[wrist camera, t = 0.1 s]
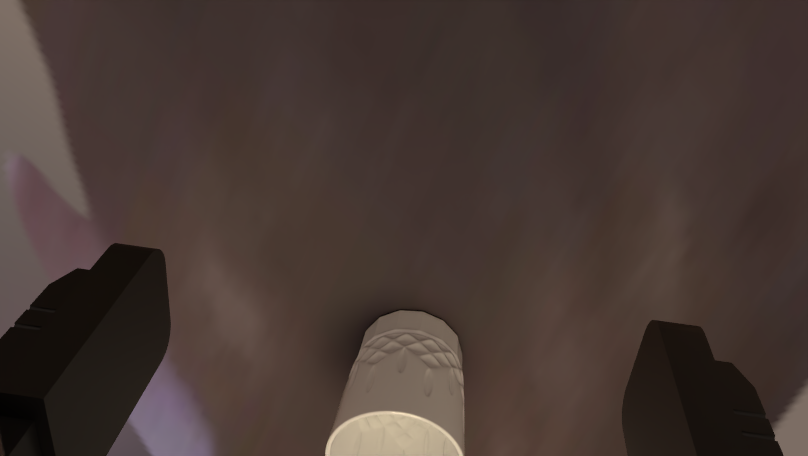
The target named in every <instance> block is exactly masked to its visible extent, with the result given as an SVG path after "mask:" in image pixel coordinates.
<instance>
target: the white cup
mask: <svg viewBox="0 0 808 456" xmlns="http://www.w3.org/2000/svg"><path fill="white" fill-rule="evenodd" d="M325 456H465V406H464V381H463V372H462V351H461V347H460V344H459V340H458V336H457V335H456V334H455V333H454V331H453V330H452V329H451V328H450V327H449V326H448V325H447V324H446V323H445V322H444V321H443V320H441V319H439V318H436V317H434V316H432V315H430V314H427V313H425V312H422V311H405V310H399V311H396V312H393V313H390V314H387V315H384V316H381V317H379V318H378V319H377V320H376V321H375V322H374V323H373V324H372V325H371V326H370V327H369V328H368V329H367V330H366V332H365V335H364V338H363V341H362V345H361V348H360V351H359V354H358V357H357V358H356V360H355V362H354V363H353V367H352V369H351V372H350V375H349V378H348V381H347V384H346V386H345V389H344V392H343V395H342V398H341V401H340V405H339V408H338V411H337V414H336V417H335V420H334V424H333V427H332V430H331V433H330V436H329V439H328V442H327V446H326V452H325Z"/></svg>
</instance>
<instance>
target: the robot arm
mask: <svg viewBox="0 0 808 456" xmlns="http://www.w3.org/2000/svg"><path fill="white" fill-rule="evenodd" d="M170 328H171V322H170V310H169V298H168V287H167V275H166V264H165V257H164V254H163V252H162V251H161V250H160V249H154V248H147V247H139V246H132V245H125V244H118V243H115V244H112V245H111V246H110V247H109V248H108V249H107V250H106V251H105V253H104V254H103V255H102V256H101V257H100V258H99V260H98V261H97V262H96V263H95V264H94V266H93V267H92V268H91V269H90V270H86V269H79V268H77V269H75V270H74V271H72V272H70V273H68V274H67V275H65V276H63V277H61V278H60V279H58V280H56V281H54V282H53V283H51V284H49V285H48V286H47V287H46V289H45V290H44V291H43V292H42V293H41V294H40V295H39V296H38V298H36V300H35V301H34V302H33V303H32V304H31V305H30V309H29V310H26V311H25V312H24V313H23V314H22V315H21V316H20V318H18V320H17V321H16V322H15V326H14V327H10V328H9V330H8V331H7V332H6V333H5V334H4V335H3V336H2V337H1V339H0V456H106V455H107V454H108V452H109V450H110V448H111V447H112V445H113V443H114V442H115V440H116V438H117V437H118V435H119V433H120V431H121V430H122V428H123V426H124V425H125V423H126V421H127V419H128V418H129V416H130V414H131V413H132V411H133V409H134V408H135V406H136V404H137V402H138V401H139V399H140V397H141V396H142V394H143V392H144V390H145V389H146V387H147V385H148V384H149V382H150V380H151V378H152V377H153V375H154V373H155V372H156V370H157V368H158V366H159V365H160V363H161V361H162V359H163V357H164V355H165V353H166V350H167V346H168V342H169V337H170ZM765 415H766V413H765V411H764V408H763V406H762V404H761V401H760V399H759V397H758V394H757V392H756V390H755V387H754V386H753V385H752V384H751V383H750V382H749V381H748V380H747V379H746V378H745V377H744V376H743V375H742V373H741V372H740V371H739V370H738V369H737V368H736V367H735V366H734V365H733V364H732V363H729V362H722V361H715V360H714V357H713V354H712V352H711V349H710V346H709V344H708V341H707V338H706V336H705V333H704V331H703V329H702V328H701V327H699V326H692V325H685V324H678V323H671V322H664V321H657V320H652V321H651V322H650V323H649V324H648V326H647V328H646V330H645V333H644V336H643V339H642V342H641V345H640V348H639V351H638V354H637V357H636V360H635V363H634V366H633V369H632V372H631V375H630V378H629V381H628V384H627V387H626V390H625V394H624V399H623V407H622V426H623V433H624V438H625V443H626V448H627V453H628V456H783V453H782V451H781V448H780V446H779V444H778V442H777V441H775V439H774V438H775V434H774V432H773V430H772V427H771V425H770V423H769V420H768V419H766V418H765Z"/></svg>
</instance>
